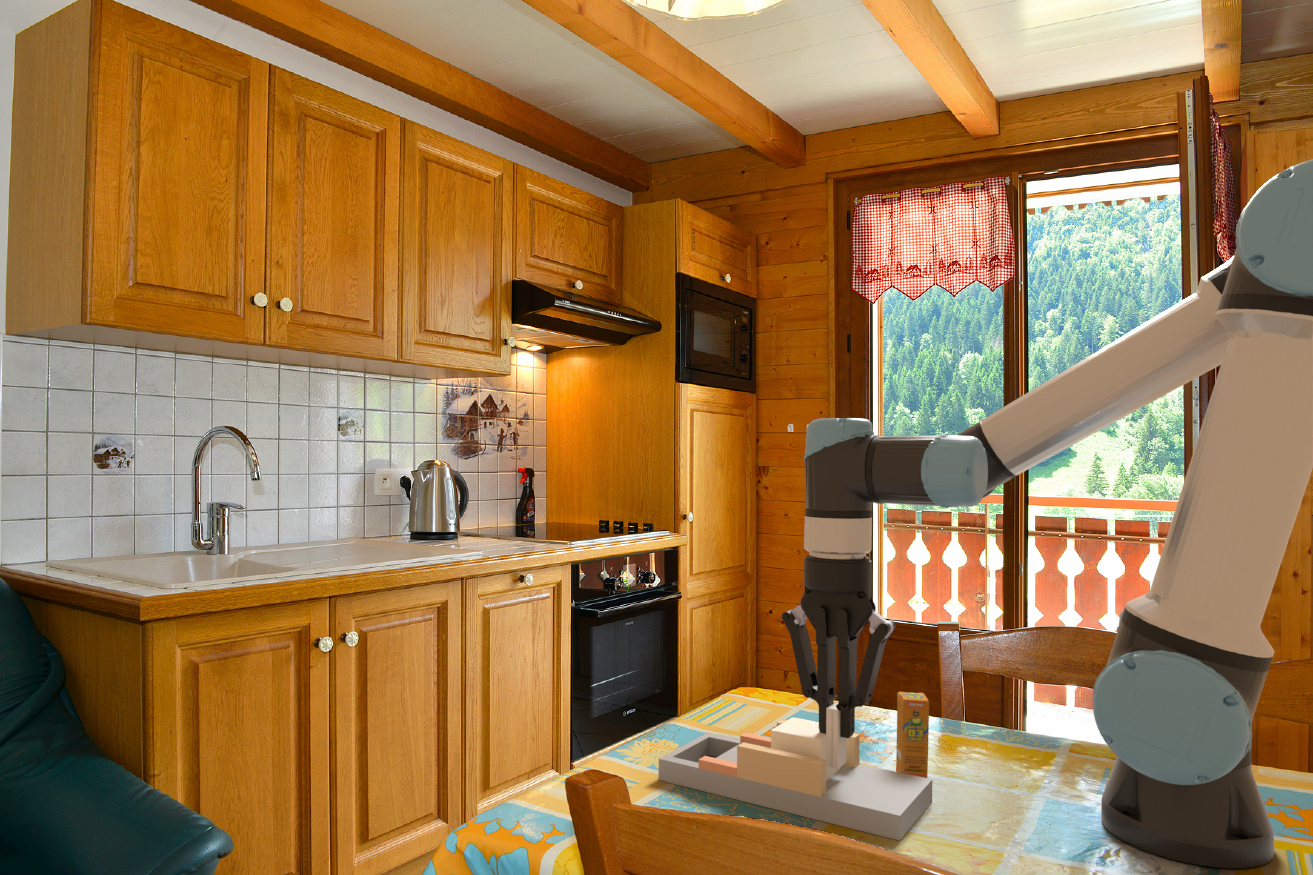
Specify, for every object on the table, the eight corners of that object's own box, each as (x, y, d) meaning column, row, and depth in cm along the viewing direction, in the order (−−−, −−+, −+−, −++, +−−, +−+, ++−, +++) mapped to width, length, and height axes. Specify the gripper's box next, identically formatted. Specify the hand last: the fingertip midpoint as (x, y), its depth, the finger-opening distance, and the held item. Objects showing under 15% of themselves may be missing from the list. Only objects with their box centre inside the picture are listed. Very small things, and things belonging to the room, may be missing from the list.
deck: (932, 801, 96) (932, 747, 96) (900, 840, 86) (900, 780, 86) (707, 751, 112) (708, 705, 112) (658, 779, 102) (659, 729, 102)
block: (840, 769, 99) (840, 726, 99) (820, 785, 94) (820, 739, 94) (792, 759, 102) (792, 717, 102) (770, 774, 97) (771, 730, 97)
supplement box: (900, 782, 101) (901, 698, 102) (895, 772, 105) (895, 690, 105) (929, 784, 101) (929, 699, 101) (923, 773, 105) (923, 691, 105)
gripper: (904, 555, 96) (903, 766, 95) (798, 548, 103) (796, 744, 102) (883, 561, 90) (881, 787, 89) (771, 553, 97) (769, 762, 96)
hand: (836, 764), depth 96 cm, fingers closed
